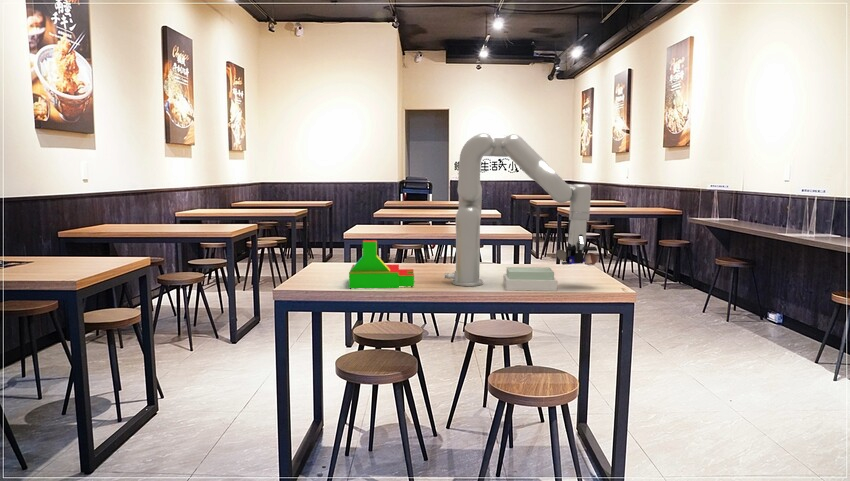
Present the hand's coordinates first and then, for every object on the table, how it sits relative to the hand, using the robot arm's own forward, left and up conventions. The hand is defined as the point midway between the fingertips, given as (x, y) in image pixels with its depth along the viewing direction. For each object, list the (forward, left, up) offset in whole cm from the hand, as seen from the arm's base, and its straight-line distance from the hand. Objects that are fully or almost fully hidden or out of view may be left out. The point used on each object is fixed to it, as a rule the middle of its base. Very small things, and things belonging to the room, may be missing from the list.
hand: (576, 261), depth 227 cm
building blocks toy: (-76, +1, -11) cm, 77 cm away
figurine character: (0, 0, -2) cm, 2 cm away
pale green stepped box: (-18, -2, -10) cm, 21 cm away
